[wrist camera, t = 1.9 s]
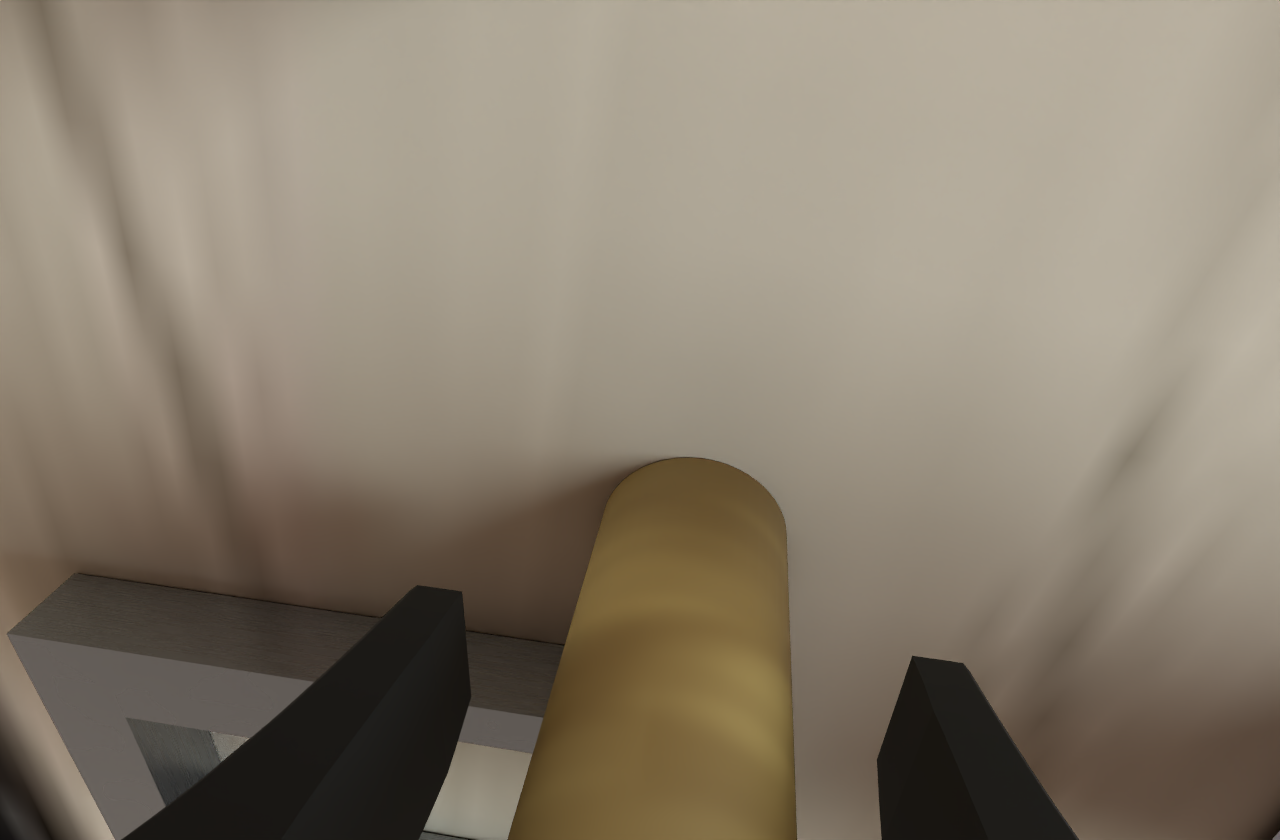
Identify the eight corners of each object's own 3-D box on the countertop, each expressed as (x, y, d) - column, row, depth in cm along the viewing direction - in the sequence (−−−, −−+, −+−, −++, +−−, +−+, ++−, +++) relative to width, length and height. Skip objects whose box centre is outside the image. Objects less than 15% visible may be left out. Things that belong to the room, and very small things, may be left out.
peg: (800, 470, 12) (847, 1189, 5) (771, 614, 13) (778, 1310, 6) (605, 446, 12) (390, 1094, 5) (599, 589, 13) (430, 1233, 7)
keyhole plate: (732, 670, 14) (729, 746, 13) (693, 902, 18) (687, 979, 17) (74, 573, 15) (6, 633, 14) (179, 811, 19) (134, 876, 18)
